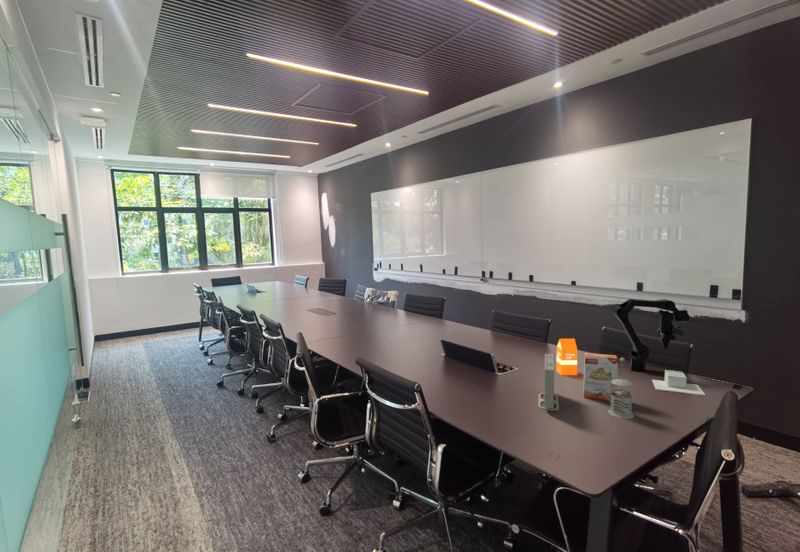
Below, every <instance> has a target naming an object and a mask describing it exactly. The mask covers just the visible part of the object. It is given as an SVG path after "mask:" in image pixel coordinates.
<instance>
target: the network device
mask: <svg viewBox="0 0 800 552" xmlns="http://www.w3.org/2000/svg"><path fill="white" fill-rule="evenodd" d="M554 362H555V361H554V354H553V353H545V354H544V392H541V393H539V394H538V404H537V406H538V408H539V409H540V410H545V411H559V409H560V407H559V397H558V395H557V394H555V363H554ZM542 396H543V398H542ZM541 403H544V406H541ZM554 406H555V407H554Z"/></svg>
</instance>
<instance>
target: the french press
mask: <svg viewBox="0 0 800 552" xmlns="http://www.w3.org/2000/svg"><path fill="white" fill-rule="evenodd" d="M619 361H621V365H623V362H626V359H625V358H624V357H620V358H619ZM611 382H612V384H614V385H616V386H617V387H620V388H617V389H614V390H612V392H613V393H612V394H611V400H610V399H609V398H608V397H607V396H606V394H605V389H606V388H607V387H608V385H609V386H611V388H612V384H611V385H610V384H608V385H607V386H606V387H605V389H604V396H605V398H606V397H607V398H608V399H609V400H608V399H607V398H606V399H607V400H606V401H609V402H610V409H609V410H608V414H609V415H610V416H613V417H616V418H619V419H625V420H626V419H627V420H628V419H633V418H634V416H635V415H634V414H633V413H632V402H633V401H632V396H631V394H632V393H631V392H630V391H629V390H626V389H623V388H631V387H633V383H631V382H630V381H629V380H626V379H624V378H617V379H615V380H612V381H611ZM615 395H616V397H614V396H615Z"/></svg>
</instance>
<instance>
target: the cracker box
mask: <svg viewBox="0 0 800 552" xmlns="http://www.w3.org/2000/svg"><path fill="white" fill-rule="evenodd" d="M583 355H584V357H583V360H584V361H583V383H582V384H583V386H582V388H583V389H582V390H583V392H582V393H583V398H589V399H596V400H605V401H609V399H610V401H611V394H612V393H613V392H612V390H614V389H618V388H617V387H618V386H616V385H614V384H612V382H611V381H612V380H615V379H618V365H619V364H618V361H619V359H618V356H617V355H614V354H603V353H602V354H601V353H590V352H584V354H583ZM608 384H610V385H611V384H612V388H611V386H609V385H608ZM607 385H608V387H607V388H606V389H605V387H606V386H607ZM604 389H605V394H606V396H607V397H608V398H609V399H608V398H607V397H606V398H607V399H608V400H607V399H606V398H605V396H604ZM616 396H617V395H615V396H614V397H616Z"/></svg>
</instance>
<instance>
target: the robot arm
mask: <svg viewBox="0 0 800 552" xmlns="http://www.w3.org/2000/svg"><path fill="white" fill-rule="evenodd" d="M634 307H640V308H654V309H655V308H656V309H659V310H657V311H656V314H659V315H660V322H659V325H660V326H659V327H658V328H657V329H656V332H657V334H658V337H659V339H660V342H661V344H662V346H663V348H664V349H665V350H667V349H668V347H669V344H670V342H671V341H676V340H677V336H676V335H679V336H681V337H684V335H685V332H686V331H685V330H684V329H683V328H682V326H680V325H675V324H674V322H676V323H688V322H689V321H690V314H689V312H688V310H687V309H680V310H679V309H678V308H677V307H676V303H675V301H672V300H669V299H666V298H665V299H664V298H662V299H656V300H650V299H635V298H629V299H627V300H626V301H624V302H623V303H620V304H619V305H617V306H615V307H613V308H612V315H614V317H615V318H616V319H617V321H618V322H620V323H621V325H622V328H623V329H624V331H625V333H626V334H627V337H628V338H629V340H630V343H632V344H631V345H632V351H630V353H629V357H630V367H629V368H630V370H631V372H640V373H641V372H642V373H645V371H646V361H647V358H648V357H650V354H651V353H650V349H649V348H648V345H647V344H646V343H645V342H643V341H641V339H639V336H638V335H637V333H636V331H635V329H634V327H633V325H632V323H631V322H630V318H629V317H630V316H629V313H630V312H631V311H632V310H633V309H634ZM675 334H676V335H675Z"/></svg>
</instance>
